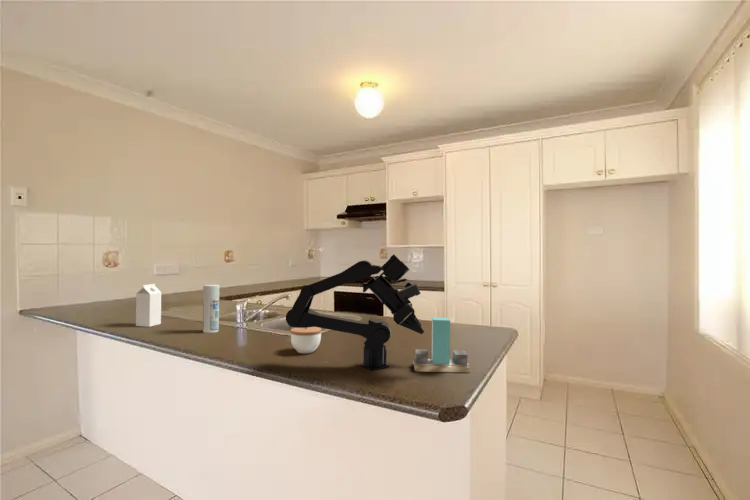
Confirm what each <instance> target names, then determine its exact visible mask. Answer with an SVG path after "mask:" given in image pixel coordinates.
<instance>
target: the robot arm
mask: <svg viewBox="0 0 750 500" xmlns="http://www.w3.org/2000/svg"><path fill="white" fill-rule="evenodd" d="M381 271H383V272H381ZM409 271H410V268H409V267H408V266H407V265H406V263H404V262H403V261H402V260H400V259H399V258H398V257H397V256H396V255H395V254H392V255H391V256H390V258H389V259H388V260H386V262H385V263H384V264H383V265H380V264H378V265H375V264H372V262H370V261H368V260H367V259H366V260H360V261H358V262H356V263H355V264H353V265H351V266H349V267H348V268H346V269H345V270H343V271H341V272H338V273H337V274H334V275H331V276H329V277H326V278H323V279H321V280H319V281H315V282H313V283H311V284H307V285H304V286H302V288H301V289H300V292H299V295H298V296H297V297H296V300H295V301H294V303H293V305H292V307H291V309H289V310H288V311H287V313H285V314H286V315H285V321H286V323H287V325H288V326H289V327H291V328H307V327H319V328H321V329H326V330H331V331H337V332H340V333H341V332H342V333H346V334H351V335H357V336H360V337H363V338H365V339H364V342H363V345H364V346H363V354H362V355H363V358H362V359H363V362H361V363H360V365H359V366H361V367H363V368H366V369H368V370H370V371H377V370H380V369H381V370H382V369H385V368H389V364H387V348H386V347H387V345H385V344H386V343H387V342H388V341H389V340H390V338H391V335H392V328H391V325H390V324H389V323H388V322H387V321H385V320H384V318H376V317H374V316H373V317H372V316H370V317H369V318H368V320H367V321H366V320H365V321H361V320H356V319H351V318H346V317H345V318H344V317H341V316H334V315H329V314H324V313H320V312H317V311H315V310H314V309H312V308H311V306H312V303H313V301H314V297H315V296H316V295H319V294H321V293H324V292H326V291H329V290H332V289H334V288H337V287H339V286H342V285H344V284H349V283H355V282H356V283H357V282H359V281H365V280H368V279H369V278H370V279H369V280H368V281H367V282H363V283H362V292H363V293H365V292H367V291H368V290H370V291H371V293H373V294H374V295H375V296H376V297H377V298H378V300H379V301H380V302H381V305H384V306H385V307H386V308H387V310H389V311H390V313H391V315H393V317H392V319H393V321H394V322H395V324H396V325H398V326H400V327H404V328H406V329H409V330H411V331H413V332H416V333H418V334H420V335H422V334H423V333H425V330H424V329H423V327H422V323H421V322H420V320H419V319H418V317H417V316H416V314H415V312H416V311H415V308H414V307H413V303H412V301H411V300H410V299H411V298H413V297H417V296H420V295H421V291H420V289H419V286H418V285H417V283H413V284H412V283H411V282H410V281H408V282H406V283H405V284H404V287H403V288H402V289H400V290H399V289H398V288H397V287H394V286H393V285H392V284H391V283H393V282H396V283H397V282H398V281H400V279H402V278H403V277H404V276H405V275H406V274H407V273H408V272H409ZM380 272H381V273H380ZM379 273H380V275H378V274H379ZM373 275H378V276H377V277H375V276H373ZM384 276H385V277H386V278H385V277H384ZM387 279H388V280H389V281H390V282H389V281H388V280H387Z"/></svg>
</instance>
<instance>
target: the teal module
mask: <svg viewBox="0 0 750 500" xmlns="http://www.w3.org/2000/svg"><path fill="white" fill-rule="evenodd" d="M431 359H432V363H433V364H450V360H451V320H450V318H449V317H431Z"/></svg>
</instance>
